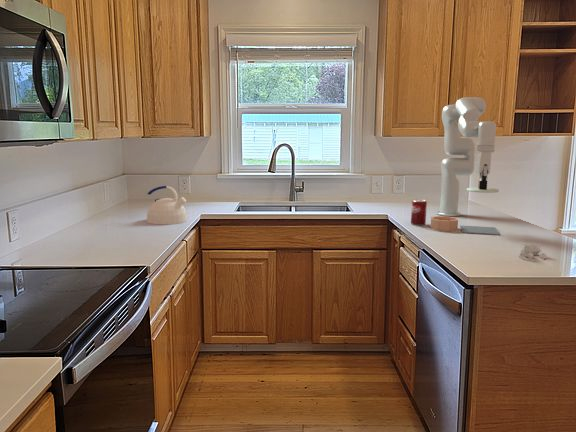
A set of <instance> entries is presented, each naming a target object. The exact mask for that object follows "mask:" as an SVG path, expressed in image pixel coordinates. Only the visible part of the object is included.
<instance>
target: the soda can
mask: <svg viewBox="0 0 576 432" xmlns="http://www.w3.org/2000/svg"><path fill="white" fill-rule="evenodd" d="M427 205H428V202H427V200H425V199H412V200H411V212H410V214H411V215H410V224H411V225H413V226H425V225H426V224H427V209H428V208H427Z"/></svg>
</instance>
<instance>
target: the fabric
mask: <svg viewBox="0 0 576 432" xmlns="http://www.w3.org/2000/svg"><path fill="white" fill-rule="evenodd" d="M547 257H548V256H547V254H546V253H544V252H542V249H541V244H523V245H522V249H521V250H520V253H519V256H518V258H519V259H522V260H525V261H530V260H531V262H534V261H535V260H534V259H536V260H540V261H541V262H542V261H544V260H547Z"/></svg>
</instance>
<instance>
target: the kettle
mask: <svg viewBox="0 0 576 432" xmlns="http://www.w3.org/2000/svg"><path fill="white" fill-rule="evenodd" d="M162 189H168V190H170V191H171V192H172V195H173V198H171V197H165V198H164V197H163V198H155V200H154V202H153V203H152V204H151V205H150V206H149V209H148V211H147V213H146V223H148V224H149V225H150V224H151V225H163V226H164V225H165V226H166V225H167V226H168V225H177V224H179V225H180V224H183V223H187V221H188V217H187V210H186V209H185V207H184V205H185V203H187V199H186V198H185V197H183V196H182V197H181V198H179V197H178V196H179V195H178V192H177V191H176V190H175V188H174V187H172V186H168V185H162V186H157V187H154V188H153V189H151V190H149V191H148V193H147V195H152V194H153V193H154V192H157V191H158V190H162Z"/></svg>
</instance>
